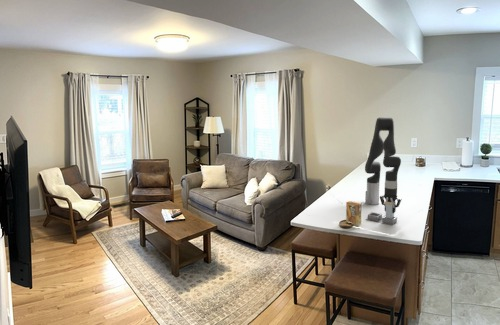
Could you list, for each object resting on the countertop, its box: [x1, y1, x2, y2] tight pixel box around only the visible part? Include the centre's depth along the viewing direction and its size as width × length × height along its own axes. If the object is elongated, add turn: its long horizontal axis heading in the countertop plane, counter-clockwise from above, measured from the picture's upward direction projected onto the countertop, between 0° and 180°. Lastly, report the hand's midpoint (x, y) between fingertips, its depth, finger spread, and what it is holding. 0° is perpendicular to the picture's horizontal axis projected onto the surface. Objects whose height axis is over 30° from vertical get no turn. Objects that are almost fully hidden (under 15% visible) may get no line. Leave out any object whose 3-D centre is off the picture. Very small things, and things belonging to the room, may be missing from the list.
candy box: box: [345, 200, 362, 228], centre depth 225 cm, size 9×4×15 cm, turn 50°
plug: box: [385, 202, 395, 219], centre depth 225 cm, size 4×4×11 cm
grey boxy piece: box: [365, 211, 399, 226], centre depth 230 cm, size 18×12×4 cm, turn 47°
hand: (389, 212), depth 225 cm, fingers closed on plug, 4 cm apart
